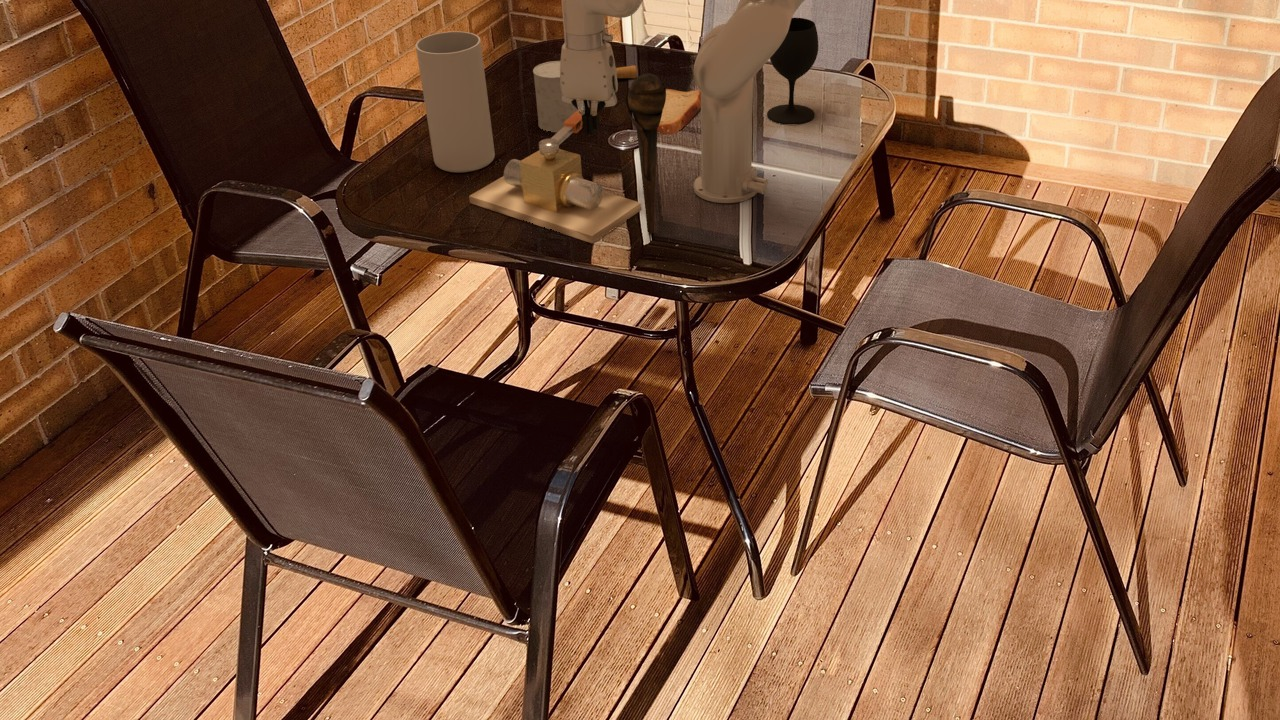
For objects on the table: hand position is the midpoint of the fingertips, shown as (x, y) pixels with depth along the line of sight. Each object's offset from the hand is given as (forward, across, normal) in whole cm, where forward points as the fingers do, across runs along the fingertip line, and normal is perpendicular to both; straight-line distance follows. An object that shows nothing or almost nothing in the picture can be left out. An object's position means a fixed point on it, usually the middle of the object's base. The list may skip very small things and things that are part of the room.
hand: (591, 132), depth 217 cm
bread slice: (+11, -6, -36) cm, 39 cm away
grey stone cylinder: (+11, +17, -26) cm, 33 cm away
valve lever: (-1, +4, +4) cm, 6 cm away
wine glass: (+11, -31, -40) cm, 52 cm away
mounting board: (+11, +4, +11) cm, 16 cm away
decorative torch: (+11, -17, +17) cm, 26 cm away
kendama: (+11, +16, -49) cm, 53 cm away
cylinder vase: (+11, +30, -4) cm, 32 cm away
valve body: (+9, +4, +11) cm, 15 cm away
